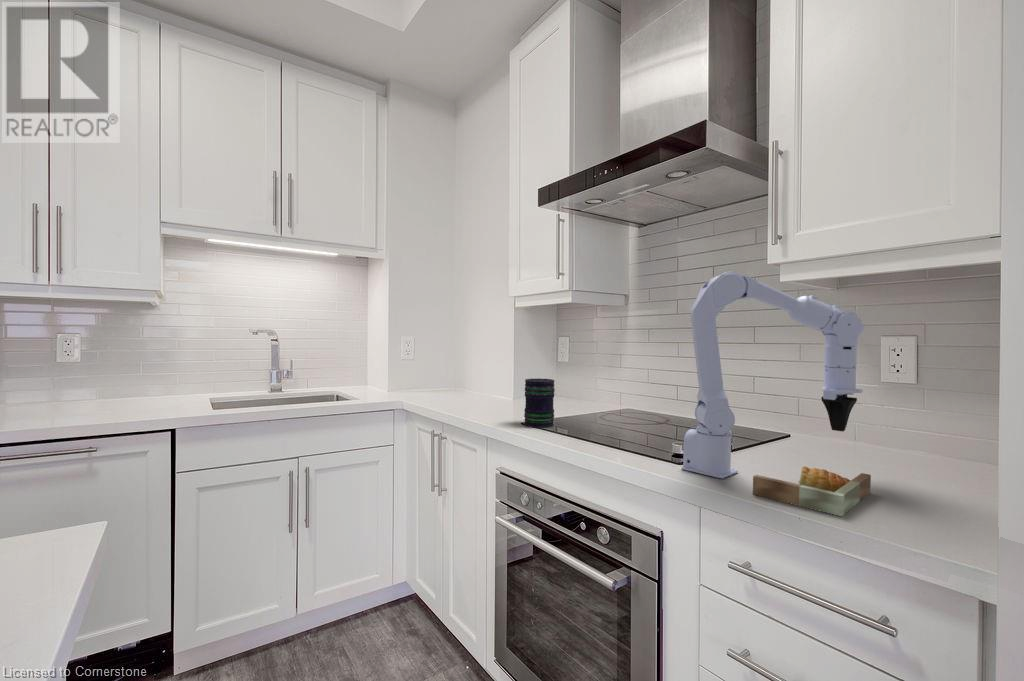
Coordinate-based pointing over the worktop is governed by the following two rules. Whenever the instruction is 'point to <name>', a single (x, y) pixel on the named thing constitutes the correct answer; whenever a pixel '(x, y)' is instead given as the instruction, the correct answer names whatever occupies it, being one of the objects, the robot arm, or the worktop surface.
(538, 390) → the storage jar
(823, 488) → the pastry
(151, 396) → the worktop surface
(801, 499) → the two-tone corner bracket
